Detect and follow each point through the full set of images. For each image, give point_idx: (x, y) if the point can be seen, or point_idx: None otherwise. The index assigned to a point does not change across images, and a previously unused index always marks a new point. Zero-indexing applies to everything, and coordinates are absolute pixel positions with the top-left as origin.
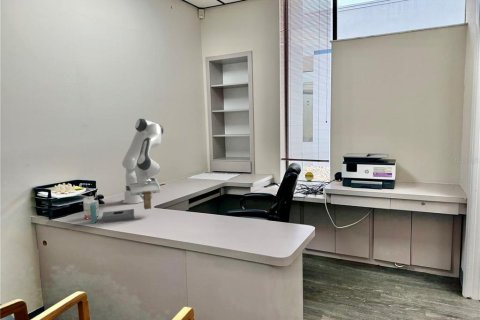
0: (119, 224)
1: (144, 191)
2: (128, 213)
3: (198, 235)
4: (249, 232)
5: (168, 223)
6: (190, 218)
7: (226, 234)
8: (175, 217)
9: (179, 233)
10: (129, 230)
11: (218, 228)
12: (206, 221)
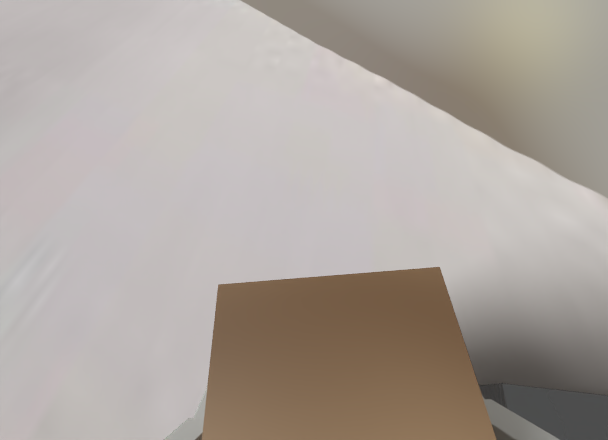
0: (570, 276)
1: (447, 417)
2: (578, 418)
3: (195, 24)
4: (64, 8)
5: (234, 159)
6: (85, 189)
7: (124, 12)
8: (142, 252)
9: (241, 49)
10: (454, 137)
11: (101, 48)
12: (67, 118)
